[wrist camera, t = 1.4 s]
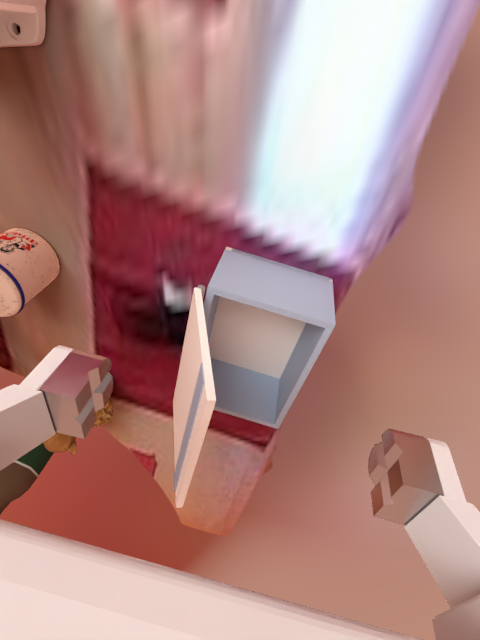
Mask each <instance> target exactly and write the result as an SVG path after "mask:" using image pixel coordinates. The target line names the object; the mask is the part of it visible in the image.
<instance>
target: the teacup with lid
mask: <svg viewBox="0 0 480 640" xmlns="http://www.w3.org/2000/svg"><path fill="white" fill-rule="evenodd" d="M59 270H60V265H59V260H58V257H57V255H56V253H55V251H54V250H53V248H52V247H51V246H50V245H49V243H48V242H47V241H46V240H44V239H43V238H42V237H41V236H39V235H38V234H36V233H34V232H32V231H30V230H27V229H22V228H12V229H9V230H7V231H5V232H3V233H2V234H0V317H9V316H12V315H15V314H18V313H19V312H20V311H21V310H22V309H23V307H24V305H25V304H27V303H28V302H29V301H30V300H31V299H32V298H34V297H35V296H36V295H37V294H38V293H39V292H40V291H42V290H43V289H44V288H45V287H46V286H47V285H49V284H50V283H51V282H52V281H53V280H54V279H55V278H56V277H57V276H58V274H59Z"/></svg>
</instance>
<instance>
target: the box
mask: <svg viewBox="0 0 480 640" xmlns="http://www.w3.org/2000/svg"><path fill="white" fill-rule="evenodd" d="M203 308H204V315H205V322H206V330H207V337H208V344H209V351H210V359H211V366H212V373H213V380H214V388H215V395H216V403H215V406H214V409H213V410H216V411H219V412H223V413H226V414H229V415H233V416H236V417H239V418H243V419H246V420H249V421H253V422H256V423H259V424H263V425H266V426H269V427H273V428H276V429H279V427H280V425H281V423H282V421H283V420H284V418H285V416H286V414H287V412H288V411H289V409H290V407H291V405H292V403H293V401H294V400H295V398H296V396H297V394H298V392H299V390H300V388H301V387H302V385H303V383H304V381H305V380H306V378H307V376H308V374H309V372H310V371H311V369H312V367H313V365H314V363H315V361H316V360H317V358H318V356H319V354H320V352H321V351H322V349H323V347H324V345H325V343H326V341H327V340H328V338H329V336H330V334H331V332H332V331H333V329H334V327H335V325H336V323H335V308H334V294H333V279H331V278H328V277H325V276H322V275H318V274H315V273H312V272H308V271H305V270H302V269H299V268H295V267H292V266H289V265H285V264H282V263H279V262H276V261H272V260H269V259H266V258H262V257H259V256H256V255H253V254H249V253H246V252H243V251H239V250H236V249H233V248H230V247H226V248H225V251H224V253H223V255H222V257H221V259H220V261H219V263H218V265H217V268H216V270H215V272H214V274H213V276H212V278H211V280H210V283H209V285H208V288H207V292H206V297H205V302H204V306H203Z"/></svg>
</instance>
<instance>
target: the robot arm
mask: <svg viewBox="0 0 480 640" xmlns="http://www.w3.org/2000/svg"><path fill="white" fill-rule="evenodd" d="M46 1H47V0H0V47H18V46H37V45H40V44H41V43H42V42H43V40H44V37H45V27H46V15H45V6H46ZM17 25H18V26H19V27H20V30H21V32H20V34H19V32H18V30H17ZM111 367H112V366H111V360H110V359H109V358H106V357H102V356H99V355H95V354H91V353H88V352H84V351H81V350H77V349H73V348H69V347H66V346H62V345H59V346H57V347H54V348H53V349H52V350H51V351H50V352H49V353H48V355H47V356H46V357H45V358H44V359H43V360H42V361H41V362H40V363H39V364H38V365H37V366H36V367H35V368H34V369H33V371H32V372H31V373H30V374H29V375H28V376H27V377H26V378H25V379H24V380H23V381H22V382H21V384H19V385H16V384H13V385H11V386H8V387H6V388H3V389H1V390H0V471H1V470H2V469H4V468H5V467H7V466H8V465H10V464H11V463H13V462H14V461H16V460H17V459H19V458H20V457H22V456H23V455H25V454H26V453H28V452H29V451H31V450H32V449H34V448H35V447H37V446H38V445H40V444H41V443H43V442H44V441H46V440H47V439H49V438H50V437H52V436H53V435H55V434H56V433H55V432H57V433H61V434H65V435H69V436H74V437H78V438H82V439H85V437H86V435H87V434H88V432H89V431H90V429H91V428H92V426H93V424H94V423H95V421H96V413H95V412H97V411H98V410H100V409H102V408H104V407H105V405H106V404H107V402H108V400H109V398H110V395H111V393H112V390H113V377H112V376H111V374H110V373H109V370H110V369H111ZM382 441H383V442H380V443H378V444H375V445H374V447H373V449H372V450H371V453H370V457H369V463H368V469H369V477H370V478H371V480H372V481H373V483H374V484H375V487H374V488H373V490H372V491H371V497H372V506H373V515H374V517H377V518H381V519H384V520H388V521H391V522H394V523H398V524H402V525H405V527H404V528H405V529H406V531H407V533H408V535H409V536H410V538H411V540H412V541H413V543H414V545H415V547H416V548H417V550H418V552H419V554H420V555H421V557H422V559H423V560H424V562H425V564H426V566H427V567H428V569H429V571H430V573H431V574H432V576H433V578H434V579H435V581H436V583H437V585H438V586H439V588H440V590H441V592H442V593H443V595H444V597H445V599H446V600H447V602H448V604H449V605H450V607H451V609H449V610H447V611H445V612H443V613H441V614H439V615H437V616H436V617H435V618H434V619H433V620H432V621H433V627H434V632H435V637H436V640H480V512H479V511H478V510H477V509H476V507H475V506H474V505H473V504H471V503H468V502H466V499H465V496H464V493H463V490H462V487H461V484H460V481H459V478H458V475H457V472H456V469H455V466H454V463H453V460H452V456H451V454H450V451H449V448H448V446H447V445H446V443H445V442H441V441H437V440H433V439H429V438H424V437H423V436H419V435H414V434H410V433H406V432H402V431H397V430H393V429H387V430H385V432H384V433H383V435H382ZM0 640H422V639H418V638H415V637H411V636H408V635H404V634H401V633H397V632H394V631H390V630H386V629H383V628H380V627H376V626H373V625H369V624H366V623H362V622H359V621H355V620H352V619H348V618H344V617H341V616H337V615H334V614H330V613H327V612H323V611H320V610H317V609H313V608H310V607H306V606H303V605H299V604H295V603H292V602H288V601H285V600H281V599H278V598H274V597H271V596H268V595H264V594H260V593H257V592H254V591H250V590H246V589H243V588H239V587H236V586H232V585H229V584H225V583H222V582H218V581H215V580H211V579H208V578H204V577H200V576H197V575H194V574H190V573H187V572H183V571H179V570H176V569H173V568H169V567H166V566H162V565H159V564H155V563H152V562H148V561H145V560H141V559H138V558H134V557H131V556H127V555H124V554H120V553H117V552H113V551H110V550H106V549H103V548H99V547H95V546H92V545H88V544H85V543H81V542H78V541H75V540H71V539H67V538H64V537H61V536H57V535H53V534H50V533H46V532H43V531H39V530H36V529H32V528H29V527H25V526H21V525H18V524H15V523H11V522H8V521H4V520H1V519H0Z"/></svg>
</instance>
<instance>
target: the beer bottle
mask: <svg viewBox="0 0 480 640" xmlns="http://www.w3.org/2000/svg"><path fill="white" fill-rule="evenodd" d="M53 453H54V452H50V451H48V450H47V449H46V448H45V445H44V443H41V444H40V445H38V446H37V447H35V448H34V449H32V450H31V451H29V452H28V453H26V454H25V455H23V456H22V457H20V458H19V459H17V460H16V461H14V462H13V463H11V464H10V465H8V466H7V467H5V468H4V469H2V470H1V471H0V514H1V513H2V512H3V510H4V509H5V508H6V507H7V506H8V505H9V503H10V502H12V501H13V500H15V499H17V498H19V497H20V496H22V495H23V494H24V493H25V492H26V491H27V490H28V489H29V488H30V487H31V485H32V484H33V483H34V481H35V480H36V479H37V477H38V476H39V474H40V472H41V471H42V470H43V468H44V467H45V465H46V464H47V462H48V460H49V459H50V457H51V456H52V454H53Z"/></svg>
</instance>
